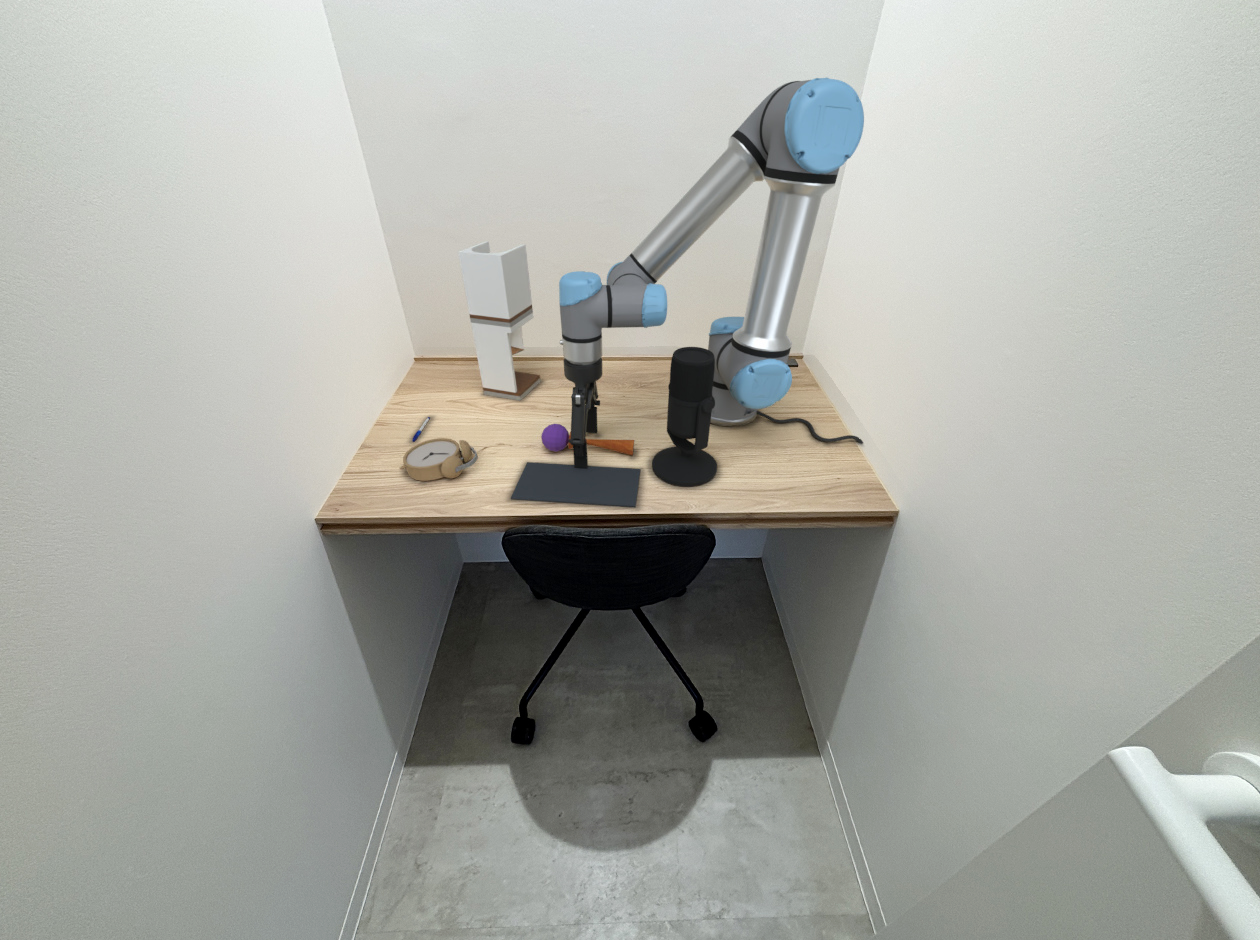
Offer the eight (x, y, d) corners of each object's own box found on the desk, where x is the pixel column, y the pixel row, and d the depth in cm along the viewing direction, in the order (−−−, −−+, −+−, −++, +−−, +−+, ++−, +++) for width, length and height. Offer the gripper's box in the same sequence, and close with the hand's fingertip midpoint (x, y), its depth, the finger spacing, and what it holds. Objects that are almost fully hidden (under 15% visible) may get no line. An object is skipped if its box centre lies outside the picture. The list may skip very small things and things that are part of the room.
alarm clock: (417, 438, 108) (481, 432, 105) (426, 456, 111) (488, 451, 108) (390, 468, 99) (459, 462, 96) (401, 487, 102) (468, 483, 99)
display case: (520, 400, 129) (500, 255, 108) (484, 394, 131) (457, 252, 111) (540, 381, 137) (525, 244, 117) (505, 376, 140) (485, 241, 120)
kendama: (632, 447, 104) (537, 435, 105) (630, 467, 108) (539, 455, 109) (635, 428, 108) (544, 416, 109) (634, 447, 112) (546, 436, 113)
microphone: (730, 473, 103) (747, 359, 89) (678, 495, 97) (687, 376, 83) (689, 443, 113) (699, 335, 98) (639, 461, 107) (641, 349, 92)
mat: (640, 470, 104) (640, 468, 104) (635, 507, 94) (635, 506, 94) (527, 463, 106) (527, 462, 106) (510, 499, 96) (510, 497, 96)
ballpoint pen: (416, 442, 113) (414, 438, 112) (412, 442, 113) (411, 438, 112) (430, 418, 121) (429, 415, 121) (426, 418, 121) (425, 415, 121)
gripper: (575, 333, 108) (579, 418, 120) (549, 385, 87) (557, 482, 100) (610, 334, 107) (610, 420, 119) (591, 387, 87) (594, 484, 99)
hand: (586, 449), depth 110 cm, fingers open, 13 cm apart
